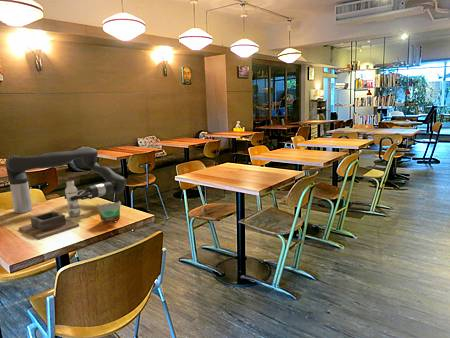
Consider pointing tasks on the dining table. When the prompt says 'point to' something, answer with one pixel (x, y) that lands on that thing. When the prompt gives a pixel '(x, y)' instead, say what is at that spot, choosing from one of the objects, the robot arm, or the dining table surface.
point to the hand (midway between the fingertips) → (68, 198)
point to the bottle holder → (48, 225)
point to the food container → (109, 212)
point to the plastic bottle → (72, 205)
